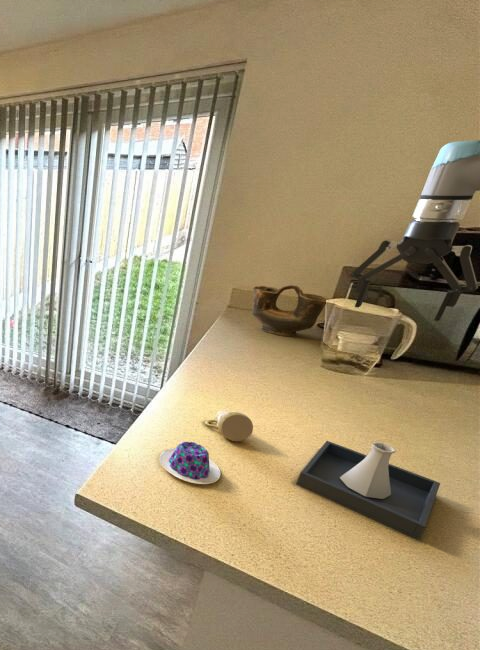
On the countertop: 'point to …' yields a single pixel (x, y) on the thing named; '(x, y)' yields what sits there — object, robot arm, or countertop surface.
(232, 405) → the countertop surface
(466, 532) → the countertop surface
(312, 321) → the pottery vessel
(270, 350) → the countertop surface
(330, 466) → the tray
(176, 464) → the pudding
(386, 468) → the flask
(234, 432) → the mug
